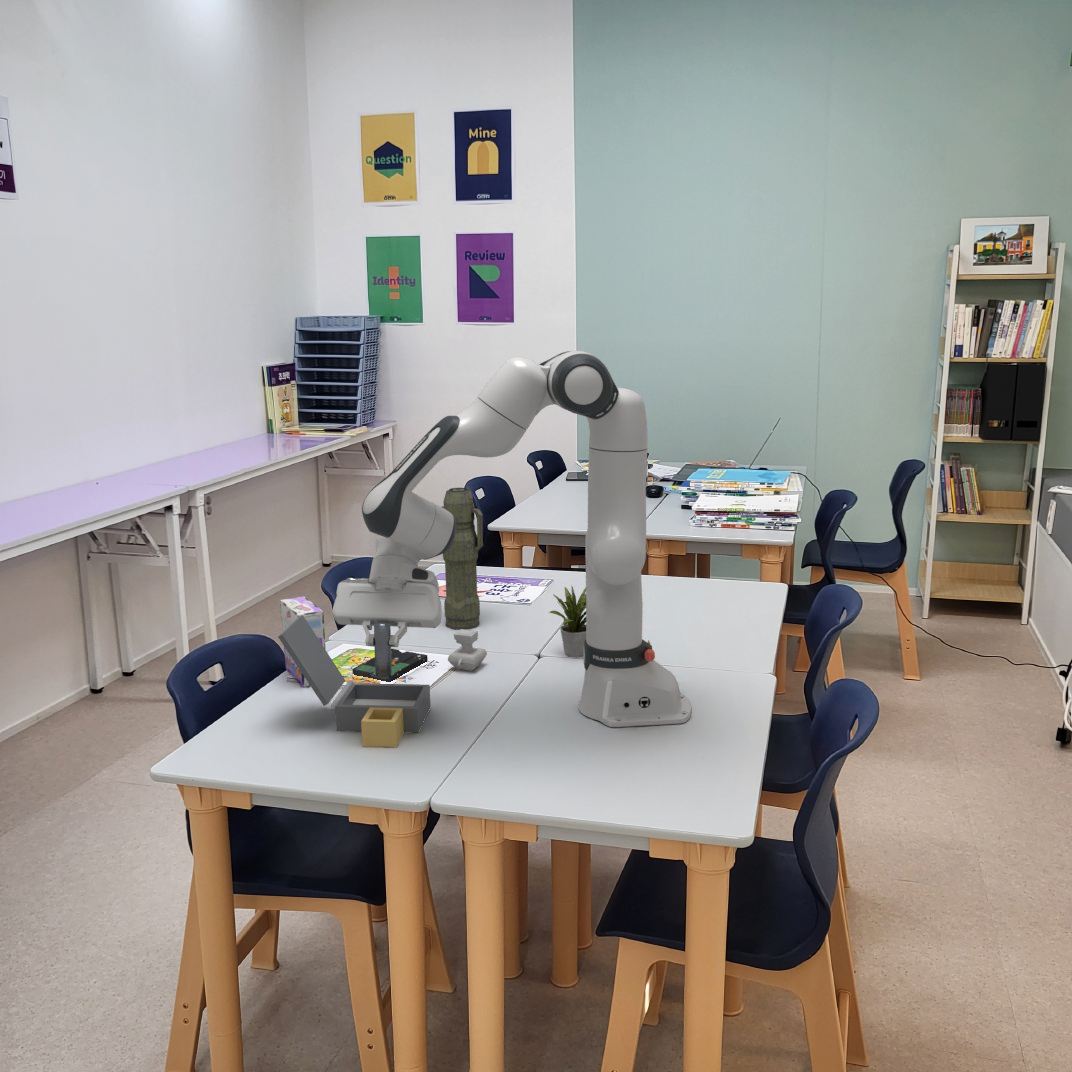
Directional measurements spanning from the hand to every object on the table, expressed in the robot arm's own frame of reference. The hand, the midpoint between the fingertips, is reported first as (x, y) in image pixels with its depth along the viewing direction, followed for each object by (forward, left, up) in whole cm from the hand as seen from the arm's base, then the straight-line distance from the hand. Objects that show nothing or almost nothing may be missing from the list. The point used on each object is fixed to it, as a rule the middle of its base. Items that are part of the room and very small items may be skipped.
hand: (381, 645), depth 182 cm
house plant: (-33, -48, -19) cm, 61 cm away
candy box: (+26, -32, -19) cm, 45 cm away
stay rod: (0, -1, -6) cm, 6 cm away
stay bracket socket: (+1, 0, -19) cm, 19 cm away
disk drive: (+8, -36, -20) cm, 42 cm away
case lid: (+16, -10, -6) cm, 20 cm away
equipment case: (+3, -10, -19) cm, 21 cm away
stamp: (-9, -39, -19) cm, 44 cm away
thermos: (-3, -69, -19) cm, 71 cm away
